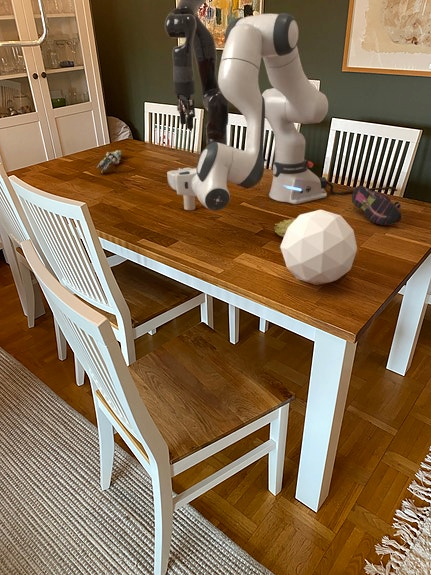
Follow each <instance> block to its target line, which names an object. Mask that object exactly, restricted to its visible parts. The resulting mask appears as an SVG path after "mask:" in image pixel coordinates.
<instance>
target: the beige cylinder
mask: <svg viewBox="0 0 431 575" xmlns="http://www.w3.org/2000/svg"><path fill="white" fill-rule="evenodd" d="M183 169H192V167H184V168H183ZM182 198H183V209H184V211H185V210H186V211H194V210H195V209H196V196H191V195H182Z"/></svg>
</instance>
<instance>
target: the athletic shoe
mask: <svg viewBox="0 0 431 575" xmlns="http://www.w3.org/2000/svg"><path fill="white" fill-rule="evenodd" d="M353 190H354V192H353V193H352V195H351V202H352V204H353V205H354V206H355V207H357V208H358V209H361V210H362V211H363V213H364V215H365V218H367V219H368V220H369V222H371V223H373V224H376V225H381V226H384V225H385V226H389V225H394V224H397V223H399V222H400V221H402V216H403V215H402V212H401V211H400V209H401V203H400V202H399V201H396V202H392V200H391V199H390V197H388V196H387V195H386V194H383V193H381V192H378V191H377V192H376V191H375V190H368V189H367V187H366V186H364V185H357V186H356V187H355V188H354V189H353Z"/></svg>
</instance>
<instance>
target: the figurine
mask: <svg viewBox="0 0 431 575" xmlns="http://www.w3.org/2000/svg"><path fill="white" fill-rule="evenodd" d="M122 153H123V152H122V150H115V151H111V152H110V151H107V152H106V153H105V155H106V156H104V157H103V158H102V159H101V161H100V162H99V163H98V165H97V167H96V169H97V170H100V173H101V174H104V173H105V172H106V171H107V170H108V169H109V168H110V167H111V166H112V165H119V164H120V160H121V158H122V157H123V154H122Z"/></svg>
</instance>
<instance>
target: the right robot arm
mask: <svg viewBox="0 0 431 575" xmlns="http://www.w3.org/2000/svg"><path fill="white" fill-rule="evenodd" d="M299 34H300V29H299V23H298V21H297V19H296V18H295V17H294V15H292V14H290V13H285V12H280V13H259V14H255V15H249V16H246V17H242V16H240V17H237V18H234V19H232V20H231V21H230V22H229V24H228V25H227V26H226V28H225V33H224V46H223V50H222V54H221V58H220V61H219V62H220V63H219V68H218V73H217V82H218V86H219V90H220V92H221V93H222V94H223V95H224V97H225V98H226V99H227V100H228V103H230V104H232V106H234V107H235V108H236V109H237V110H238V111H239V112H240V113H241V114H242V116H243V118H244V119H245V121H246V142H245V143H246V144H245V150H243V149H240V148H237V147H234V146H231V145H228V144H227V145H225V144H221V143H218V142H213V143H211V144H209V145H208V146H207V145H206V146H205V147H204V148H203V149H202V150H201V152H200V154H199V157H198V159H197V163H196V167H193V168H192V167H191V168H192V169H184V168H183V167H178V168H177V169H175V170H174V169H173V170H169V171H167V172H166V174H167V175H166V179H167V184H168V185H169V186H170V187H171V189H172V190H174V191H176V194H177V196H183V195H191V196H195V198H197V200H198V201H199V202H200V204H201V205H202V206H203V207H205V208H206V209H207V210H209V211H220V210H223V209H224V208H226V207H227V206H228V205H229V203H230V201H231V194H230V190H229V188H228V184H227V183H231V184H233V185H236V186H238V187H241V188H244V189H247V190H248V189H250V188H253V187H255V186H256V185H258V184H259V183H260V182H261V181H262V179H263V176H264V172H265V161H264V159H263V158H264V143H265V139H264V138H265V126H266V125H265V124H266V121H267V123H268V124H269V126H270V128H271V131H272V133H273V137H274V159H273V164H272V182H271V187H270V190H269V193H268V196H269V198H270V199H271V200H274V201H277V202H283V203H289V204H293V205H298V204H303V203H307V202H311V201H312V202H313V201H316V200H320V199H324V198H327V196H328V193H327V191H326V190H325V189H327V188H328V186H330V189H329V192H330V194H332V195H347V194H353V192H354V190H355V189H352V190H345V191H340V192H335V191H334V185H333V184H332V183H331V182H329V181H328V180H327V178H326V176H319V177H318V176H317V175H316V174H315V173H314V172H313V171H311V170H310V169H311V168H313V166H314V162H312V161H310V160H308V159H306V158H305V156H306V143H307V142H306V138H305V136H304V135H303V134H302V133H301V132H300V131H298V129H297V128H296V125H295V123H296V124H303V125H312V124H313V125H314V124H319V123H321V122H322V121H323V120H325V118H326V116H327V114H328V111H329V100H328V98H327V95H325V93H323V92H321V91H320V90H319V89H317V88H316V87H315V86H314V85H313V84H312V83H311V81H310V80H309V79H308V77H307V75H306V73H305V72H304V69H303V66H302V63H301V58H300V54H299V49H298V43H299V42H298V41H299V36H300V35H299ZM262 59H263V64H264V67H265V70H266V74H267V77H268V82H269V84H270V85H271V87H272V88H267V89H265V90H263V93H261V89H260V85H259V84H260V83H259V75H260V68H261V63H262V62H261V61H262ZM309 168H310V169H309ZM366 188H367V187H366ZM367 189H368V190H371V191H384V190H393V191H394V192H398V189H397V188H396V187H394V186H384V187H369V188H367Z"/></svg>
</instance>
